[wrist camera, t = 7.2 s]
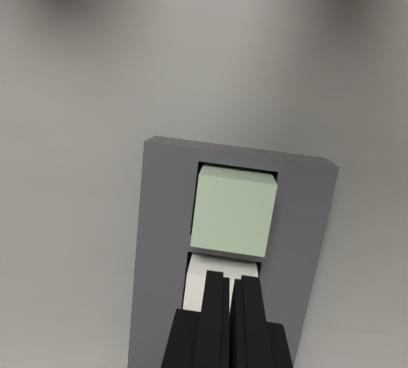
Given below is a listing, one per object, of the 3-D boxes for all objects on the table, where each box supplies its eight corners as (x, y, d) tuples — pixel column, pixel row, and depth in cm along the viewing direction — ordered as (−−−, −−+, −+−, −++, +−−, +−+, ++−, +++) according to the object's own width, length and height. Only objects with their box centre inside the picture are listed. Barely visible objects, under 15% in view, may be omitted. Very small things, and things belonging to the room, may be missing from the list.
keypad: (155, 136, 24) (144, 141, 21) (325, 158, 23) (338, 167, 20) (136, 357, 29) (126, 386, 26) (277, 381, 28) (282, 413, 25)
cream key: (193, 248, 24) (187, 273, 20) (255, 257, 23) (259, 284, 20) (186, 302, 25) (179, 334, 21) (246, 311, 25) (248, 345, 21)
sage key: (204, 162, 22) (198, 174, 19) (270, 171, 22) (277, 185, 19) (196, 224, 23) (190, 246, 20) (259, 233, 23) (264, 257, 20)
